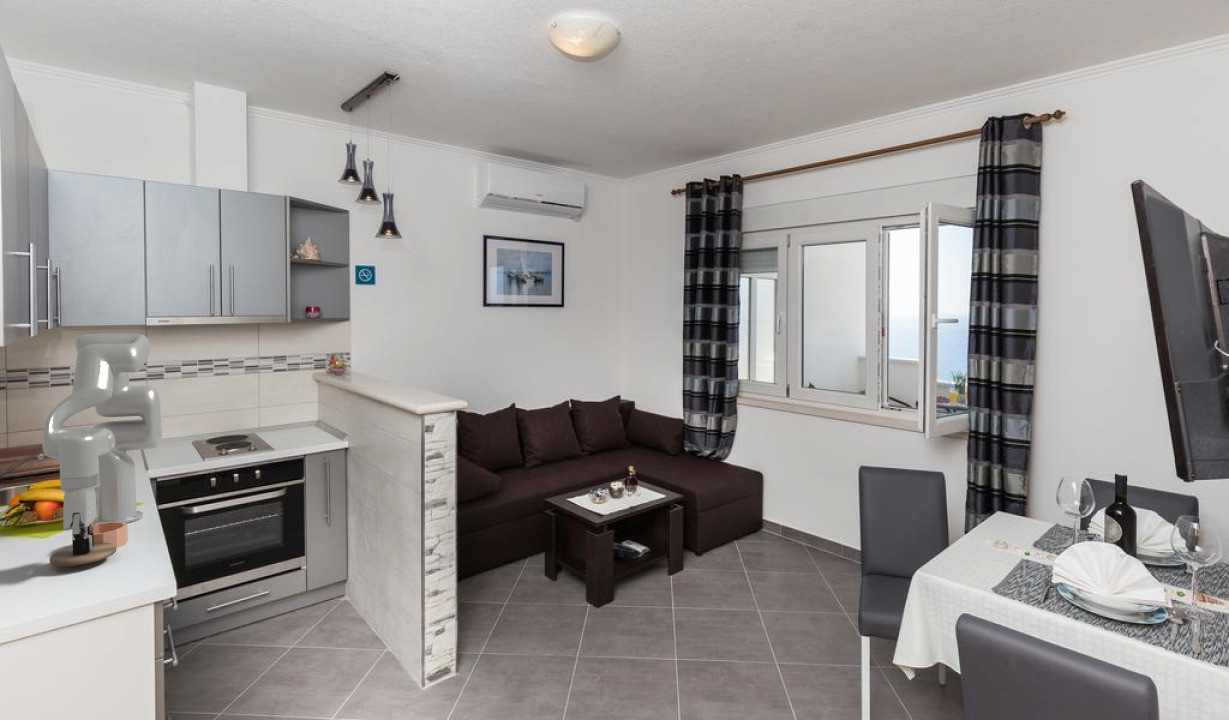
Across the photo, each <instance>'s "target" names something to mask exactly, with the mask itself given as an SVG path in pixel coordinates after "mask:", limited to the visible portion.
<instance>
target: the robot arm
mask: <svg viewBox="0 0 1229 720" xmlns="http://www.w3.org/2000/svg"><path fill="white" fill-rule="evenodd" d="M75 349H76V352H77V354H76V361H75V369H74V375H73V376H74V377H73V383H72V384H73V385H72V390H71V393H70V394H69V395H68V396H67V397H65V398H64V399H62V400H60V402H59V403H58V404H56V406H55V407H54V408H53V409H52V410H51V411H50V412H49V414H48V416H47V417H46V419H45V420H46V421H45V424H44V430H43V436H42V446H41V447H42V451H43V453H44V455H45V456H46V457H48V458H51V459H58V460H59V475H60V476H59V477H60V479H59V480H60V481H59V482H60V491H61V492H64V493H63V506H62V507H63V511H62V512H63V513H62V514H63V517H62V518H63V519H62V520H63V521H62V522H63V524H62V525H63V526H62V527H63V530H65V531H68V530H70V529H71V534H72V536H71V537H72V547H73V555H81V554H88V553H89V552H90V543H89V538H87V537H88V535H92V547H94V534H93V525H94V524H99V523H106V522H124V523H127V524H129V523H132V522H135V521H138V520H140V519H142V518H143V516H144V513H143V511H140V510H137V494H136V493H137V486H136V484H137V483H136V465H135V462H134V460H133V458H131V456H129V455H128V454H127V453H126V451H127V452H128V451H138V450H149V449H155V448H157V447H159V446H160V444H161V442H162V436H163V435H162V432H163V431H162V417H161V416H162V415H161V401H160V395H159V392H158V389H156V388H155V387H153V386H151V385H133V386H132V385H131V384H130V380H129V379H130V378H129V373H137V372H139V371H141V369H142V368H143V367H144V365H145V363H146V361H147V359H148V358H149V356H150V353H151V343H150V340H149V339H148V337H147V336H146V335H144V334H139V333H91V334H90V333H89V334H82V335H80V336H77V338H76V340H75ZM93 407H94V408H95V411H96V414H97V415H98V416H99V417H103V418H123V417H126V418H127V417H128V418H129V417H141V419H127V420H125V419H124V420H111V421H109V420H108V421H104V422H100V423H97V424H96V425H94V426H93V427H90V428H89V427H88V428H87V427H86V428H65V429H64V428H63V429H62V427H63V425H64V423H65V422H66V421H67V420H68V419H70V418H71V417H72V416H74V415H76V414H78V413H80V412H83V411H85V410H88V409H90V408H93ZM90 532H91V533H90Z"/></svg>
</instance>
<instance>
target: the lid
mask: <svg viewBox="0 0 1229 720" xmlns="http://www.w3.org/2000/svg"><path fill="white" fill-rule="evenodd" d="M87 538H89V543H90V552H89V553H88V554H81V555H73V546H72V547H69V548H65V549H62V550H59V551H57V552H56V553H53V554H52V555H51V556H49V564H50V565H51V566H54V567H72V566H73V567H75V566H76V567H77V566H82V565H87V564H91V563H95V562H98V561H101V560H103V559H107V558H109V557H111V556H113V555H114V554H115V553H116V552H117V548H116V545H115V544H112V543H94V547H92V535H88V537H87Z"/></svg>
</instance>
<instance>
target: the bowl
mask: <svg viewBox="0 0 1229 720" xmlns="http://www.w3.org/2000/svg"><path fill="white" fill-rule="evenodd" d="M90 533H91V532H90ZM128 533H129V532H128V523H124V522H106V523H99V524H94V525H93V534H94V543H112V544H115V545H116V549H118V548H120V547H123V546H124V545H126V544H127V542H129V539H128V538H129V537H128V536H129V535H128Z"/></svg>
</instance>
